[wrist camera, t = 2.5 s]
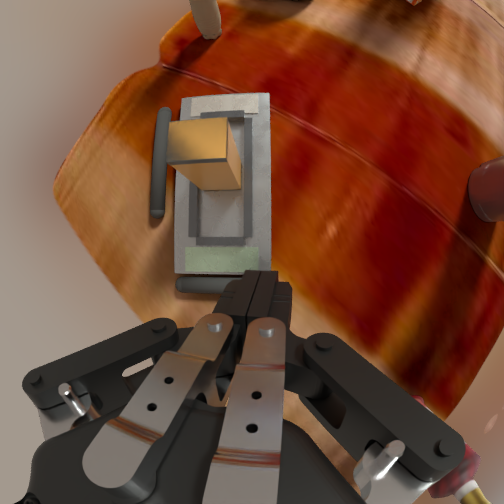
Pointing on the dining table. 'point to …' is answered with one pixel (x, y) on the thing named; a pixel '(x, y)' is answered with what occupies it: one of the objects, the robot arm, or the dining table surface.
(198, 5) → the handle
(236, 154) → the tan wooden block
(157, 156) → the grey rounded rod
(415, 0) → the cereal box
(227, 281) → the dark grey rounded bar
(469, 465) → the liquor
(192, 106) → the panel
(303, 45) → the dining table surface
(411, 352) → the dining table surface
